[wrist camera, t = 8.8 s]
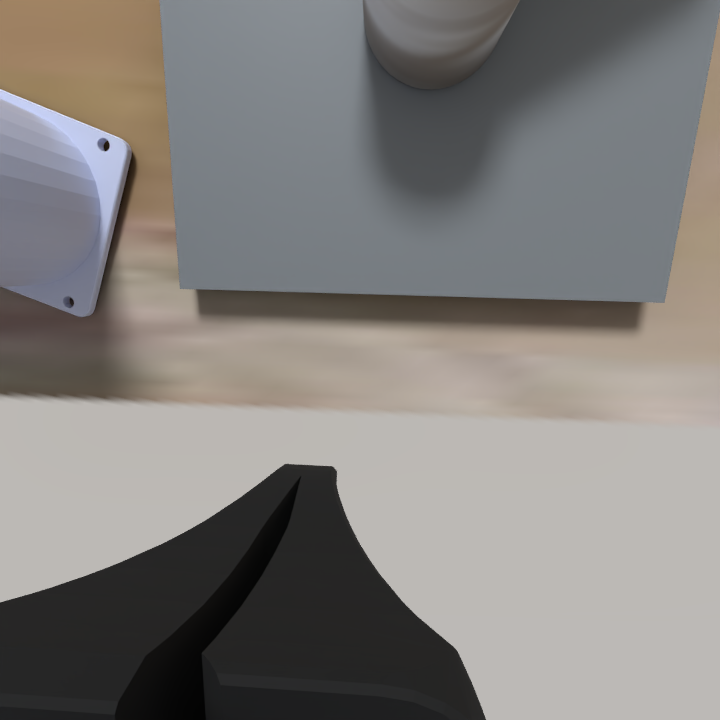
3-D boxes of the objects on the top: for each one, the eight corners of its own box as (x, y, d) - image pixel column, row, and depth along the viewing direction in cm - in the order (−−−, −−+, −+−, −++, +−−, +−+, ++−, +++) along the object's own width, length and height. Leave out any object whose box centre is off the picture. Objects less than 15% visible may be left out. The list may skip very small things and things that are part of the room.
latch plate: (195, 287, 19) (180, 288, 17) (159, -292, 14) (134, -356, 13) (640, 299, 18) (664, 302, 17) (748, -305, 14) (792, -374, 12)
